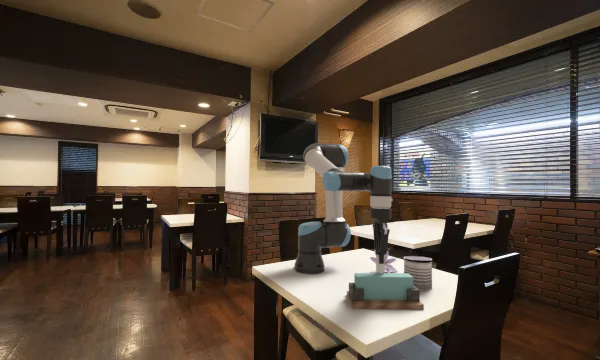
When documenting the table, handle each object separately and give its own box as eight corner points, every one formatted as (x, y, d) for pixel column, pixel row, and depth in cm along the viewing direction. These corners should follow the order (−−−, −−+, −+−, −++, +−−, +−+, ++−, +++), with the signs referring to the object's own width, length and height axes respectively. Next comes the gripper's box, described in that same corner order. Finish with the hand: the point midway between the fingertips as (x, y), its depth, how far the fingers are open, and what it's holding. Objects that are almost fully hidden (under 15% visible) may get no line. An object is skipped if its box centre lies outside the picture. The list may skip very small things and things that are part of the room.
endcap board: (353, 308, 92) (353, 292, 92) (346, 294, 104) (346, 280, 104) (423, 309, 92) (423, 292, 92) (409, 295, 104) (409, 280, 104)
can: (403, 288, 112) (403, 258, 112) (403, 279, 123) (403, 252, 123) (433, 292, 108) (433, 261, 108) (431, 283, 118) (431, 255, 119)
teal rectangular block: (356, 299, 96) (356, 276, 96) (354, 294, 100) (354, 273, 100) (413, 299, 96) (413, 277, 96) (408, 295, 100) (408, 273, 100)
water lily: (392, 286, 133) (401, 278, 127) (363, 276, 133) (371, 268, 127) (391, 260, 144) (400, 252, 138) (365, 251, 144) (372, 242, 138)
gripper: (397, 209, 94) (396, 277, 94) (385, 206, 107) (384, 266, 107) (375, 209, 94) (375, 277, 94) (366, 206, 107) (365, 266, 107)
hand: (380, 271), depth 100 cm, fingers closed
